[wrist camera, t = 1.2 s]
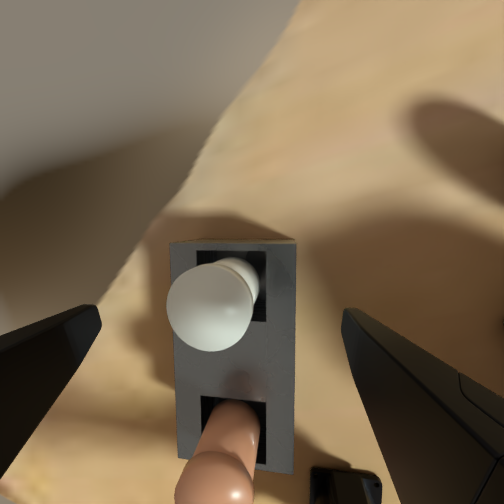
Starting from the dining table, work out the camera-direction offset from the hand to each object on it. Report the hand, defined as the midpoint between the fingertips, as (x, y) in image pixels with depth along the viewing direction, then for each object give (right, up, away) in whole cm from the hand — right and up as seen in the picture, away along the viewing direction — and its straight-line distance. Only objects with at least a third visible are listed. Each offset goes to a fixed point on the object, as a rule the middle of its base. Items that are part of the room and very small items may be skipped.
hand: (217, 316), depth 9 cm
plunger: (0, 0, +9) cm, 9 cm away
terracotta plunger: (0, -11, +10) cm, 15 cm away
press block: (+1, -5, +15) cm, 16 cm away
